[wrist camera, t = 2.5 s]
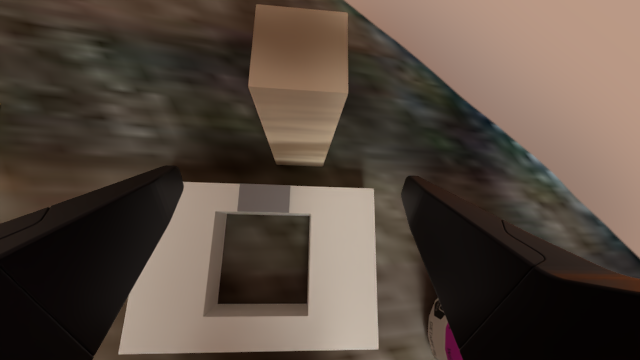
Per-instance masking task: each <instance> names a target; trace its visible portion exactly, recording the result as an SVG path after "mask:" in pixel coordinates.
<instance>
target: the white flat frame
mask: <svg viewBox="0 0 640 360" xmlns="http://www.w3.org/2000/svg"><path fill="white" fill-rule="evenodd" d="M183 184H184V189H183V192H182V195H181V197H180V200H179V202H178V204H177V207H176V209H175V212H174V214H173V216H172V219H171V221H170V223H169V225H168V227H167V228H166V230H165V232H164V234H163V236H162V237H161V239H160V241H159V243H158V244H157V246H156V248H155V250H154V251H153V253H152V255H151V257H150V258H149V260H148V262H147V264H146V266H145V267H144V269H143V271H142V273H141V274H140V276H139V278H138V280H137V281H136V283H135V285H134V287H133V288H132V290H131V292H130V294H129V298H128V303H127V309H126V314H125V320H124V325H123V331H122V336H121V342H120V347H119V353H118V354H161V353H212V352H264V351H316V350H368V349H379V348H378V315H377V282H376V249H375V216H374V189H370V188H341V187H313V186H290V185H268V184H228V183H200V182H183ZM227 214H248V215H287V216H310V217H309V250H308V284H307V304H218V295H219V286H220V276H221V267H222V257H223V248H224V239H225V229H226V220H227Z"/></svg>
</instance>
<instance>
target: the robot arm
mask: <svg viewBox="0 0 640 360" xmlns="http://www.w3.org/2000/svg"><path fill="white" fill-rule="evenodd" d="M183 189H184V184H183V180H182V177H181V173H180V170H179V168H178V167H177V166H162V167H160V168H157V169H154V170H151V171H148V172H146V173H143V174H140V175H137V176H134V177H131V178H129V179H126V180H123V181H120V182H117V183H115V184H112V185H109V186H106V187H103V188H101V189H98V190H95V191H92V192H89V193H86V194H84V195H81V196H78V197H75V198H72V199H70V200H67V201H64V202H61V203H58V204H56V205H53V206H51V207H50V208H49V207H47V208H44V209H41V210H39V211H36V212H33V213H30V214H27V215H24V216H21V217H18V218H16V219H13V220H10V221H7V222H4V223H1V224H0V360H92V359H93V358H94V357H93V356H94V355H95V354H96V352H97V350H98V348H99V347H100V345H101V343H102V341H103V340H104V338H105V336H106V334H107V333H108V331H109V329H110V327H111V325H112V324H113V322H114V320H115V318H116V317H117V315H118V313H119V311H120V310H121V308H122V306H123V304H124V303H125V301H126V299H127V297H128V296H129V294H130V292H131V290H132V288H133V287H134V285H135V283H136V281H137V280H138V278H139V276H140V274H141V273H142V271H143V269H144V267H145V266H146V264H147V262H148V260H149V258H150V257H151V255H152V253H153V251H154V250H155V248H156V246H157V244H158V243H159V241H160V239H161V237H162V236H163V234H164V232H165V230H166V228H167V227H168V225H169V223H170V221H171V219H172V216H173V214H174V212H175V209H176V207H177V204H178V202H179V200H180V197H181V195H182V192H183ZM401 198H402V202H403V205H404V209H405V213H406V216H407V220H408V224H409V227H410V230H411V232H412V235H413V237H414V240H415V242H416V245H417V247H418V250H419V252H420V255H421V257H422V260H423V262H424V265H425V267H426V269H427V272H428V274H429V277H430V279H431V282H432V284H433V287H434V289H435V292H436V294H437V297H438V299H439V302H440V304H441V306H442V309H443V311H444V314H445V316H446V319H447V321H448V324H449V326H450V329H451V331H452V334H453V336H454V339H455V341H456V343H457V346H458V348H459V349H460V350H459V351H460V354H461V356H462V359H463V360H640V279H638V278H633V277H629V276H625V275H622V274H619V273H616V272H613V271H610V270H608V269H605V268H603V267H601V266H599V265H596V264H594V263H592V262H590V261H588V260H586V259H583V258H581V257H579V256H577V255H575V254H573V253H571V252H568V251H566V250H564V249H562V248H560V247H558V246H555V245H553V244H551V243H549V242H547V241H545V240H543V239H541V238H538V237H536V236H534V235H532V234H530V233H528V232H526V231H524V230H522V229H520V228H518V227H516V226H514V225H512V224H510V223H508V222H506V221H504V220H501V219H500V218H499V217H497V216H495V215H493V214H491V213H489V212H487V211H485V210H483V209H481V208H479V207H477V206H475V205H473V204H471V203H469V202H467V201H465V200H464V199H462V198H460V197H458V196H456V195H454V194H452V193H450V192H448V191H446V190H444V189H442V188H440V187H438V186H436V185H434V184H432V183H431V182H429V181H427V180H425V179H423V178H421V177H419V176H408V177H407V178H406V180H405V183H404V186H403V189H402V193H401Z"/></svg>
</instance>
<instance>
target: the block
mask: <svg viewBox="0 0 640 360" xmlns="http://www.w3.org/2000/svg"><path fill="white" fill-rule="evenodd" d="M248 87H249V90H250V93H251V96H252V98H253V101H254V104H255V107H256V109H257V112H258V115H259V118H260V121H261V123H262V126H263V129H264V132H265V134H266V137H267V140H268V143H269V145H270V148H271V151H272V154H273V156H274V159H275V162H276V165H298V166H322V167H323V164H324V161H325V158H326V155H327V153H328V150H329V147H330V144H331V141H332V138H333V135H334V132H335V130H336V127H337V124H338V121H339V118H340V115H341V112H342V110H343V107H344V104H345V101H346V98H347V95H348V13H345V12H334V11H324V10H313V9H303V8H292V7H281V6H271V5H260V4H256V12H255V22H254V32H253V42H252V53H251V63H250V73H249V83H248Z"/></svg>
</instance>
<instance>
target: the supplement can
mask: <svg viewBox="0 0 640 360" xmlns="http://www.w3.org/2000/svg"><path fill="white" fill-rule="evenodd" d="M428 338H429V342H430V346H431V350H432V354H433V356H434V357H435V359H436V360H463V359H462V356H461V354H460V351H459V350H460V349H459V348H458V346H457V343H456V341H455V339H454V336H453V334H452V331H451V329H450V326H449V324H448V321H447V319H446V316H445V314H444V311H443V309H442V306H441V304H440V302H439V299H438V298H437V299H436V300H435V302H434V305H433V307H432V310H431V312H430V315H429V323H428Z"/></svg>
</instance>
